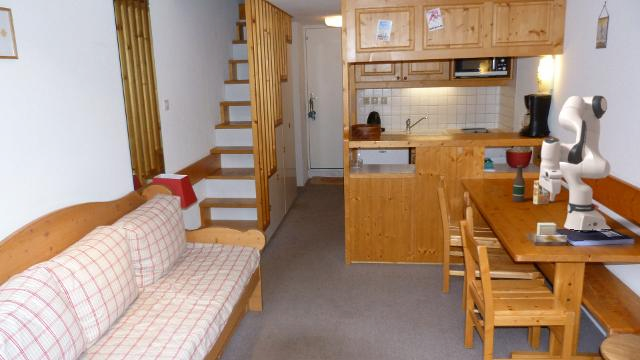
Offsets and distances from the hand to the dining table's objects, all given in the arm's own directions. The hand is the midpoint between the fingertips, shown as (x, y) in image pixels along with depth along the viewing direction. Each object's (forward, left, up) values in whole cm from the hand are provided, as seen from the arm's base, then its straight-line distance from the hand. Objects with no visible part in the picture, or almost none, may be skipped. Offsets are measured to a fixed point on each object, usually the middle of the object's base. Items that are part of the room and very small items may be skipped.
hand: (548, 198), depth 260 cm
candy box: (-21, -75, -23) cm, 81 cm away
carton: (0, 0, -20) cm, 20 cm away
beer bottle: (-9, -82, -23) cm, 85 cm away
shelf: (0, 0, -22) cm, 22 cm away
